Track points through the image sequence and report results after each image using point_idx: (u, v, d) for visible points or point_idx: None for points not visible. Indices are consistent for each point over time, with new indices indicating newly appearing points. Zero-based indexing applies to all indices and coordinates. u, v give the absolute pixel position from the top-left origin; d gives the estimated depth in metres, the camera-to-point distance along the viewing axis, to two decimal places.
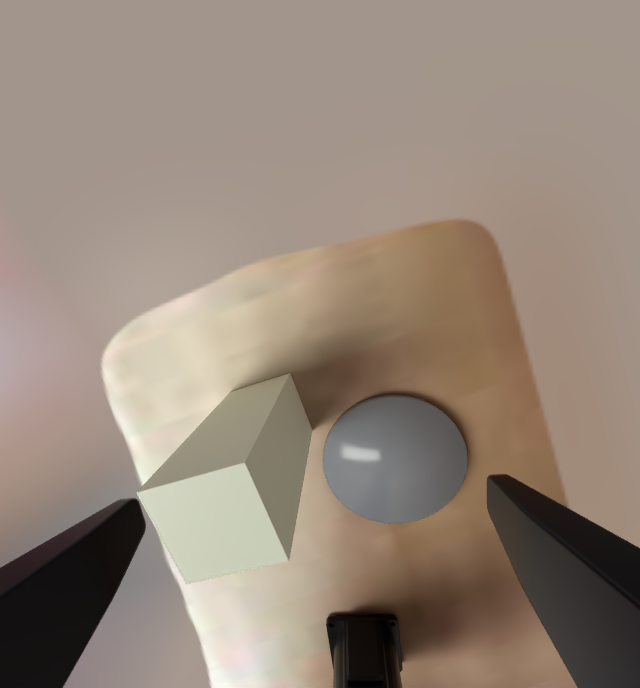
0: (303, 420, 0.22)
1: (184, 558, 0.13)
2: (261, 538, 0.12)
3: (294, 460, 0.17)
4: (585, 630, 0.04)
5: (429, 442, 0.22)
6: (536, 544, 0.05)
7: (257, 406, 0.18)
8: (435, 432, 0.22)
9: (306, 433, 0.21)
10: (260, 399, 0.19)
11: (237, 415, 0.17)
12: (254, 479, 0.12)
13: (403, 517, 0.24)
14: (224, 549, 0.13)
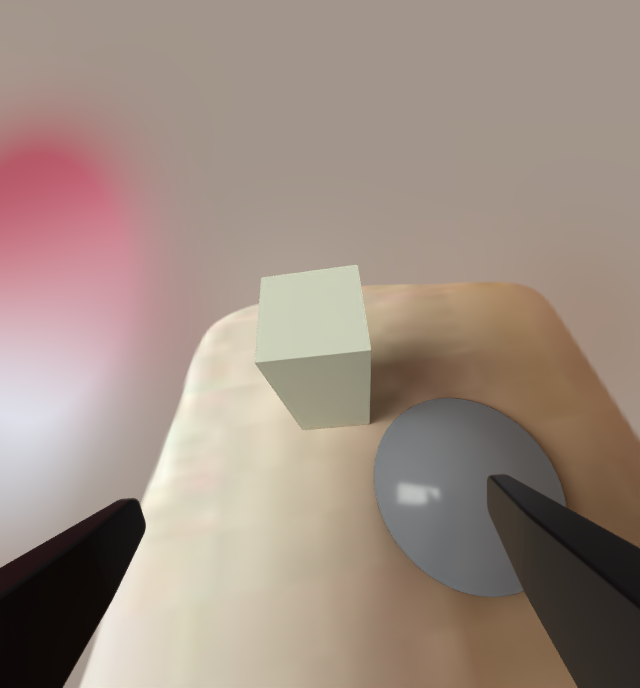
0: None
1: (269, 335, 0.13)
2: (350, 324, 0.13)
3: None
4: (585, 630, 0.04)
5: (508, 461, 0.19)
6: (536, 544, 0.05)
7: None
8: (514, 449, 0.19)
9: None
10: None
11: None
12: (359, 280, 0.15)
13: (479, 583, 0.16)
14: (310, 330, 0.13)
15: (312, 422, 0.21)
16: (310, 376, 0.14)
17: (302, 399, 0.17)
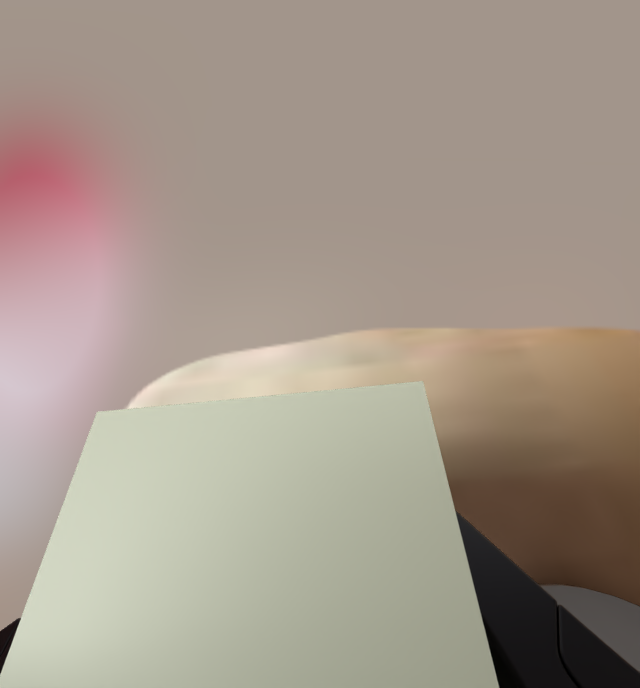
0: None
1: None
2: None
3: None
4: None
5: None
6: None
7: None
8: None
9: None
10: None
11: None
12: (437, 453, 0.04)
13: None
14: None
15: None
16: None
17: None
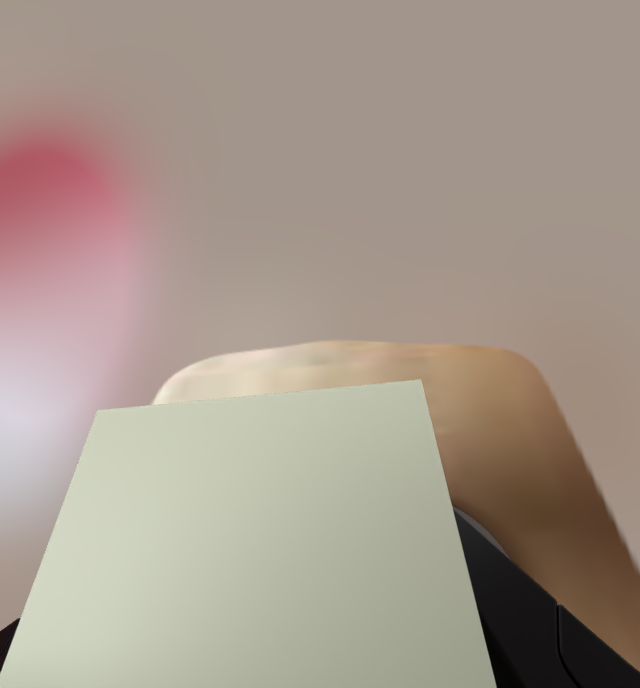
0: None
1: None
2: None
3: None
4: None
5: None
6: None
7: None
8: None
9: None
10: None
11: None
12: (435, 451, 0.04)
13: None
14: None
15: None
16: None
17: None
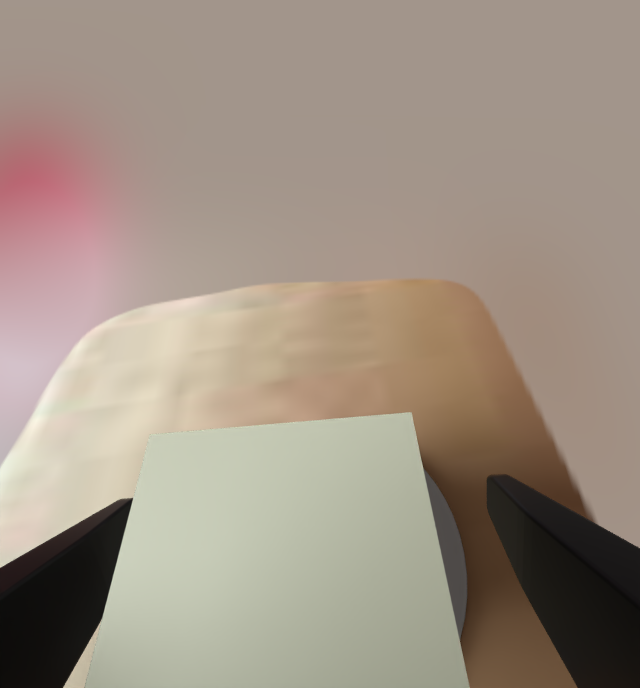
0: None
1: None
2: None
3: None
4: (585, 630, 0.04)
5: None
6: (536, 544, 0.05)
7: None
8: None
9: None
10: None
11: None
12: (422, 470, 0.05)
13: None
14: None
15: None
16: None
17: None
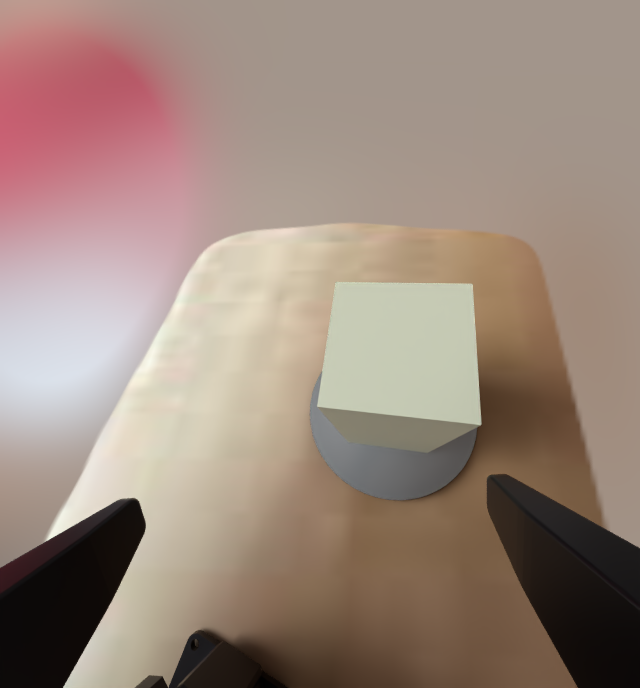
0: None
1: (338, 370, 0.10)
2: (454, 376, 0.09)
3: None
4: (585, 630, 0.04)
5: None
6: (536, 544, 0.05)
7: None
8: None
9: None
10: None
11: None
12: (472, 308, 0.10)
13: (374, 487, 0.18)
14: (396, 375, 0.10)
15: (362, 441, 0.18)
16: (380, 424, 0.11)
17: (361, 431, 0.14)
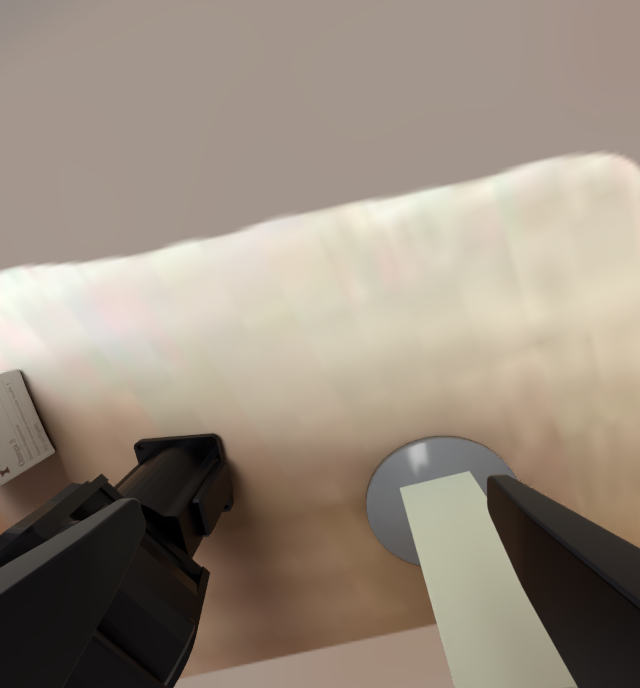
0: None
1: None
2: None
3: None
4: (585, 630, 0.04)
5: None
6: (536, 544, 0.05)
7: None
8: None
9: None
10: None
11: None
12: None
13: (374, 516, 0.22)
14: None
15: None
16: None
17: None
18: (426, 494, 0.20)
